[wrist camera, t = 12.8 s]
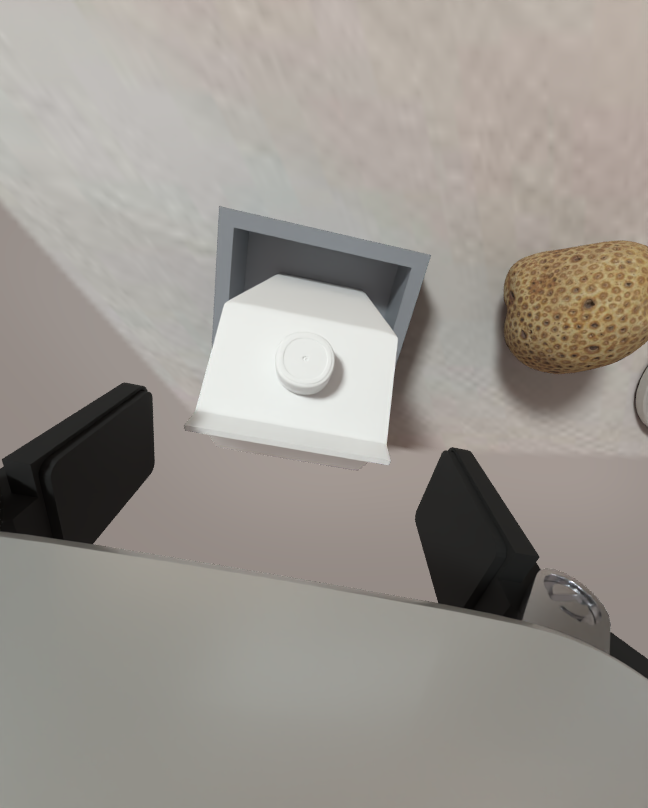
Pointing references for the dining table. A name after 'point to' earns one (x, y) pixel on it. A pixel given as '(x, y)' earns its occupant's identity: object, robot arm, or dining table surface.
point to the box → (315, 264)
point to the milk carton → (300, 375)
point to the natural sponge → (577, 306)
